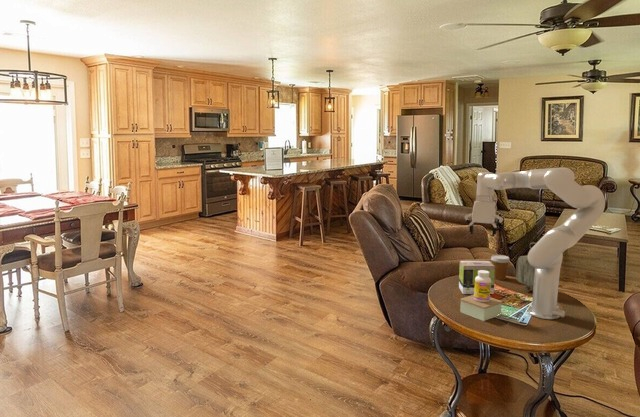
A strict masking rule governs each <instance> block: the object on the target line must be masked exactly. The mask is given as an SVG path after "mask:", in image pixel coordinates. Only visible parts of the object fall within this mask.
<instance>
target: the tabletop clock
mask: <svg viewBox="0 0 640 417" xmlns="http://www.w3.org/2000/svg"><path fill="white" fill-rule="evenodd" d="M536 243H537V242H534V241H533V242H530V243H529V246H528V247H529V250H531V248H532V247H531V245H535V244H536ZM515 264H516V267H515V279H516V281H517V282H519V283H521V284H522V285H525V288H527V289H526V292H527V293H530V292H531V290H530V288H533V287H534V274H535V268H534V267H532V266H531V265H530V263H529V262H528V254H527V255H521V256H519V257H518V258H517V260H516V263H515Z"/></svg>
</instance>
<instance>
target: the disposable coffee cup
mask: <svg viewBox="0 0 640 417" xmlns="http://www.w3.org/2000/svg"><path fill="white" fill-rule="evenodd" d="M490 260H491V263H492V264H493V265H494V266H495V280H497V281H504V280H506V278H507V273H508V267H509V263H510V260H511V259H510V257H509V256H508V255H504V254H493V255H491V257H490Z"/></svg>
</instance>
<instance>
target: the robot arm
mask: <svg viewBox="0 0 640 417" xmlns="http://www.w3.org/2000/svg"><path fill="white" fill-rule="evenodd" d="M476 179H477V182H476V194H475V197H476V198H475V200H474V202H473V207H472V212H471V213H468V214H466V215H464V216H463V217H464V220H465V222H466V223H467V224H468V225H469V233H470V235H473V234H474V223H477V224H478V223H480V224H491V225H492V226H493V227H492V237H495V235H497V228H498V227H499V226H500V225H501V224H502V223H503V221H504V218H503V217H502V216H500V215H498V214H496V202H495V201H497V200H498V199H497V196H495V194H494V191H495V190H496V191H502V190H508V189H518V188H520V189H521V188H525V189H526V188H529V189H531V190H543V189H544V190H550V191H551V192H552V193H554V194H555V195H556V196H558V198H560V199H561V200H562V201H564V203H566V204H567V205H569V206H571V207H572V208H575V209H576V210H575V211H574V212H573V213H572V214H571V215H570V216H569V217H568V218H567V219H565V221H564V222H563V223H562V224H561V225H558V226H555V227H553V228H551V229H549V230H548V231H547V232H546V233H545V234H544V235H543V236H542V237H541V238H540V239H539V240H538V241H537V242H535V243H536V244H533V246H532V247H531V249H529V251H528V253H527V255H528V262H529V263H530V265H531V266H532V267H534V268H535V274H534V287H533V289H532V301H531V302H532V303H531V306H529V307H528V308H527V313H528V312H529V313H530V314H529V313H528V314H529V315H530V316H533V317H536V318H538V319H542V320H543V319H544V320H555V319H559V318H564V317H565V316H566V311H564V310H561V309H560V306H559V305H558V295H559V283H560V282H559V281H560V273H561V267H562V263H563V258H564V255H563V253H564V252H565V251H566V250H568V249H570V248H572V247H574V246H575V245H576V244H577V243H578V241H580V239H582V238H583V237H584V236H585V234H587V233H588V231H589V230H590V229H591V228H592V227H593V226H594V225H596V224H597V222H598V221H599V220H600V218H601V217H602V215H603V214H604V211H605V207H606V199H605V196H604V194H603V192H602V190H601V189H600V188H599V187H597V186H596V185H592V184H586V185H580V184H579V183H578V182H576V180H575V173H574V171H573V170H572V169H570V168H568V167H565V166H564V167H561V166H560V167H548V168H538V169H537V168H536V169H535V168H534V169H529V170H523V171H522V170H521V171H520V170H519V171H505V172H497V173H494V172H490V171H481V172H480V171H479V172H478V174H477V177H476ZM470 217H471V220H470V219H469V218H470ZM496 219H497V220H499V221H498V222H495V221H496Z"/></svg>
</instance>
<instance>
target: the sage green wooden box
mask: <svg viewBox="0 0 640 417" xmlns="http://www.w3.org/2000/svg"><path fill="white" fill-rule="evenodd" d="M459 300H460V306H459V307H460V309H459V310H460V312H459V313H462V314H464V315H467V316H469V317H471V318H472V317H473V318H475V319H477V320H480V321H482V322H485V321H488V320H490V319H493V318H496V317H498V316H497V315H498V314H500V313H501V314H502V304H503V300H500V299H496V298H493V297H491V296H490V301H489V302H478V301H476V300H475V299H474V294H470V295H468V296H465V297H462V298H460V299H459Z"/></svg>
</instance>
